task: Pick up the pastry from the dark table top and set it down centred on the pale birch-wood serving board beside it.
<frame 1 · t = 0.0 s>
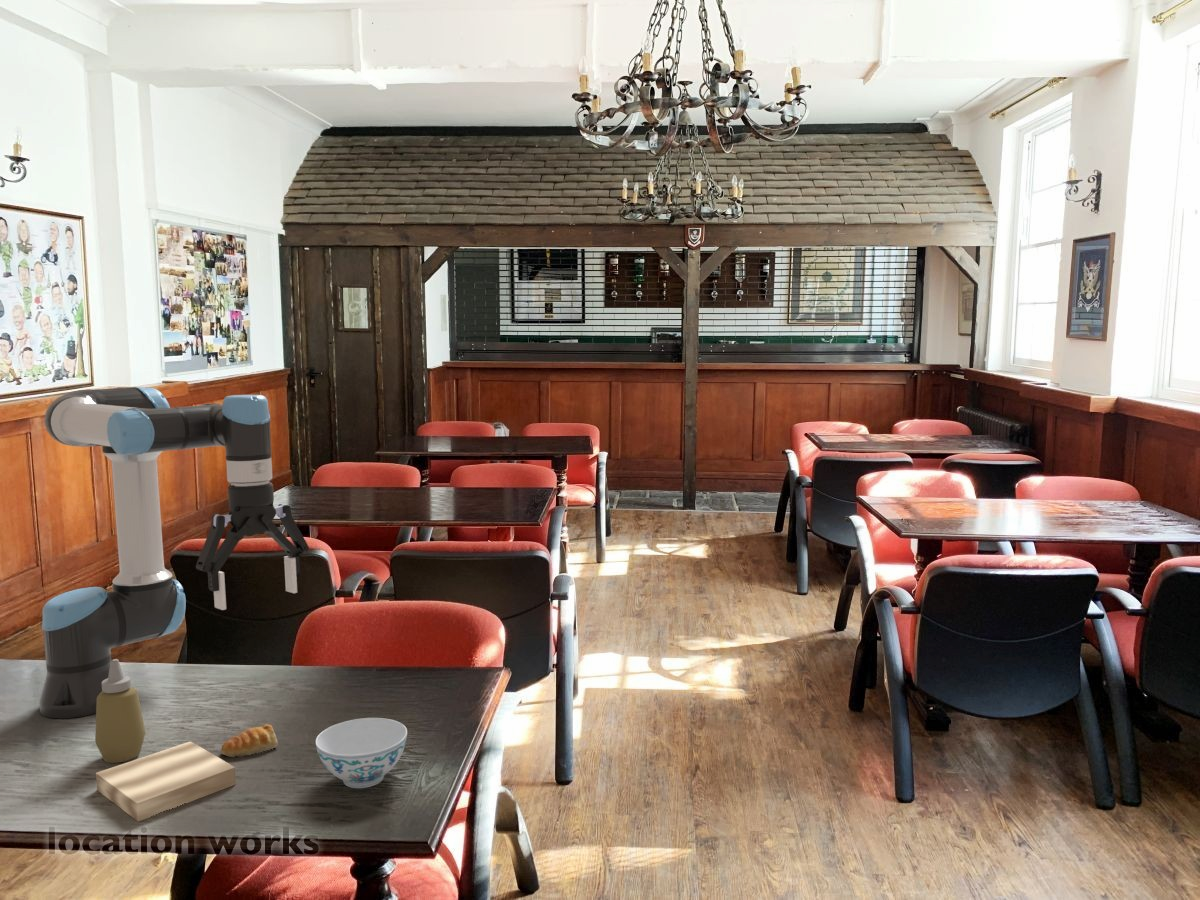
hand: (257, 600, 167), 28 cm above the table, tool pointing down, fingers open, 13 cm apart
serving board: (166, 787, 157), on the table
squeeze bottle: (122, 757, 168), on the table
chinaware: (363, 780, 159), on the table
pastry: (253, 750, 171), on the table
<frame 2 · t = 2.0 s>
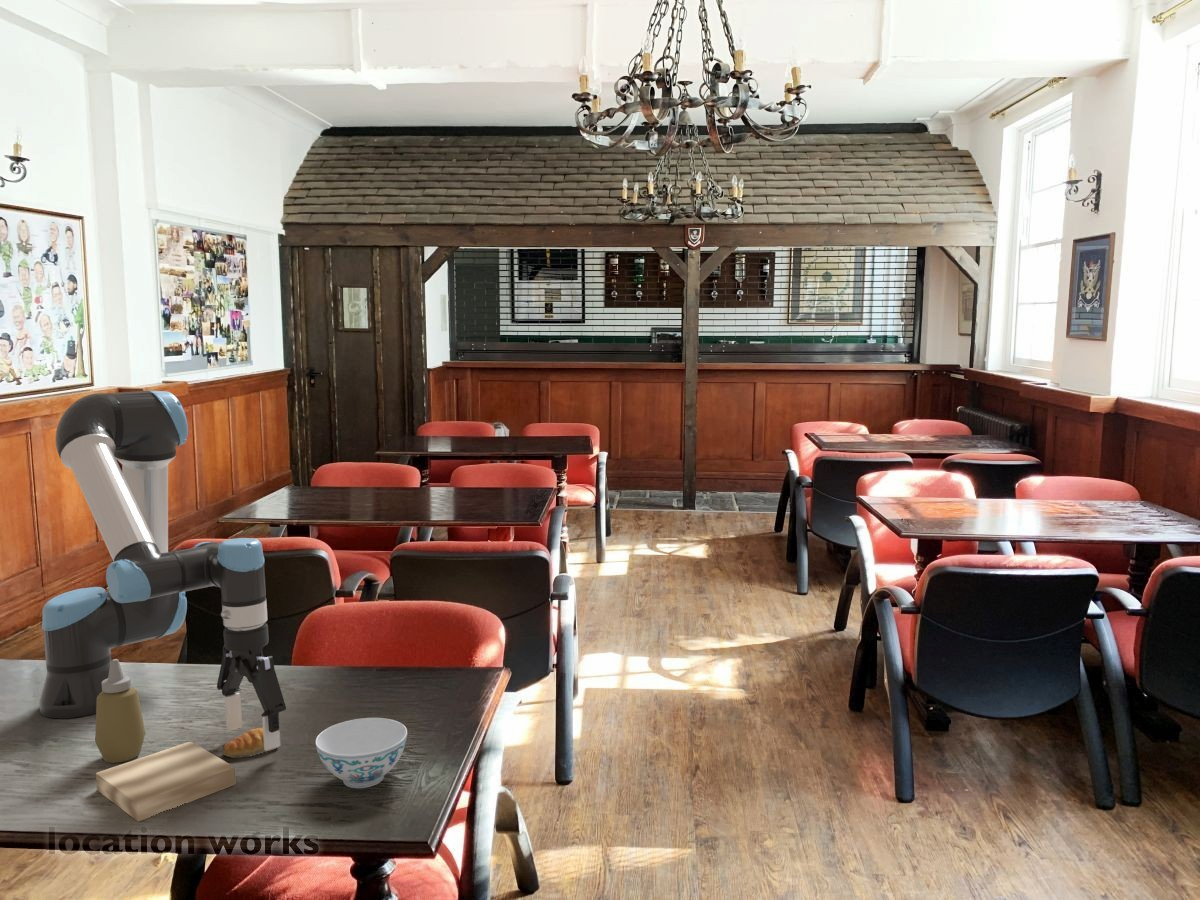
hand: (253, 738, 171), 2 cm above the table, tool pointing down, fingers open, 13 cm apart
nothing on the table moved.
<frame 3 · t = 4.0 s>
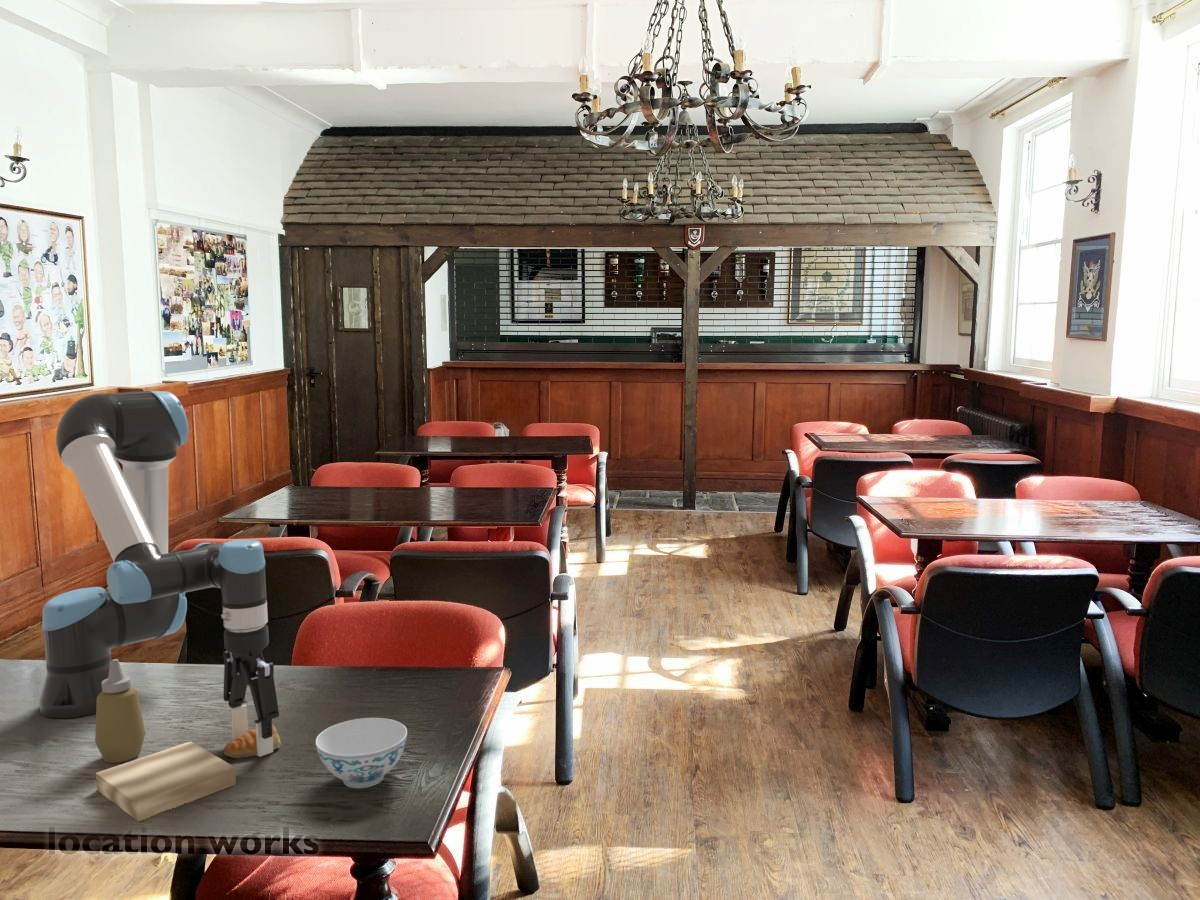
hand: (253, 746, 171), 0 cm above the table, tool pointing down, fingers open, 8 cm apart
pastry: (255, 751, 171), on the table, touching gripper
everything else where it was.
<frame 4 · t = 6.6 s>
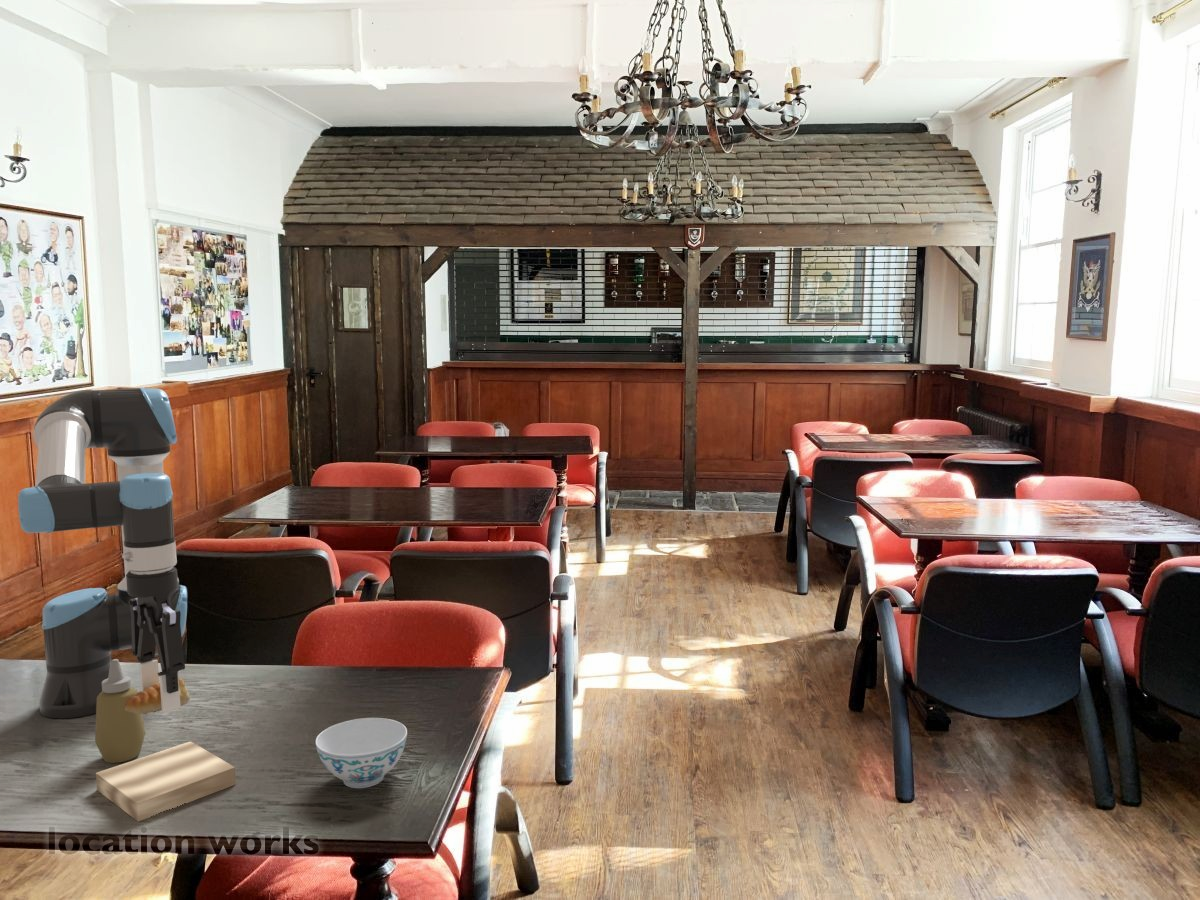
hand: (161, 704, 155), 14 cm above the table, tool pointing down, fingers closed on pastry, 7 cm apart
pastry: (161, 707, 155), point 14 cm above the table, touching gripper
everything else where it was.
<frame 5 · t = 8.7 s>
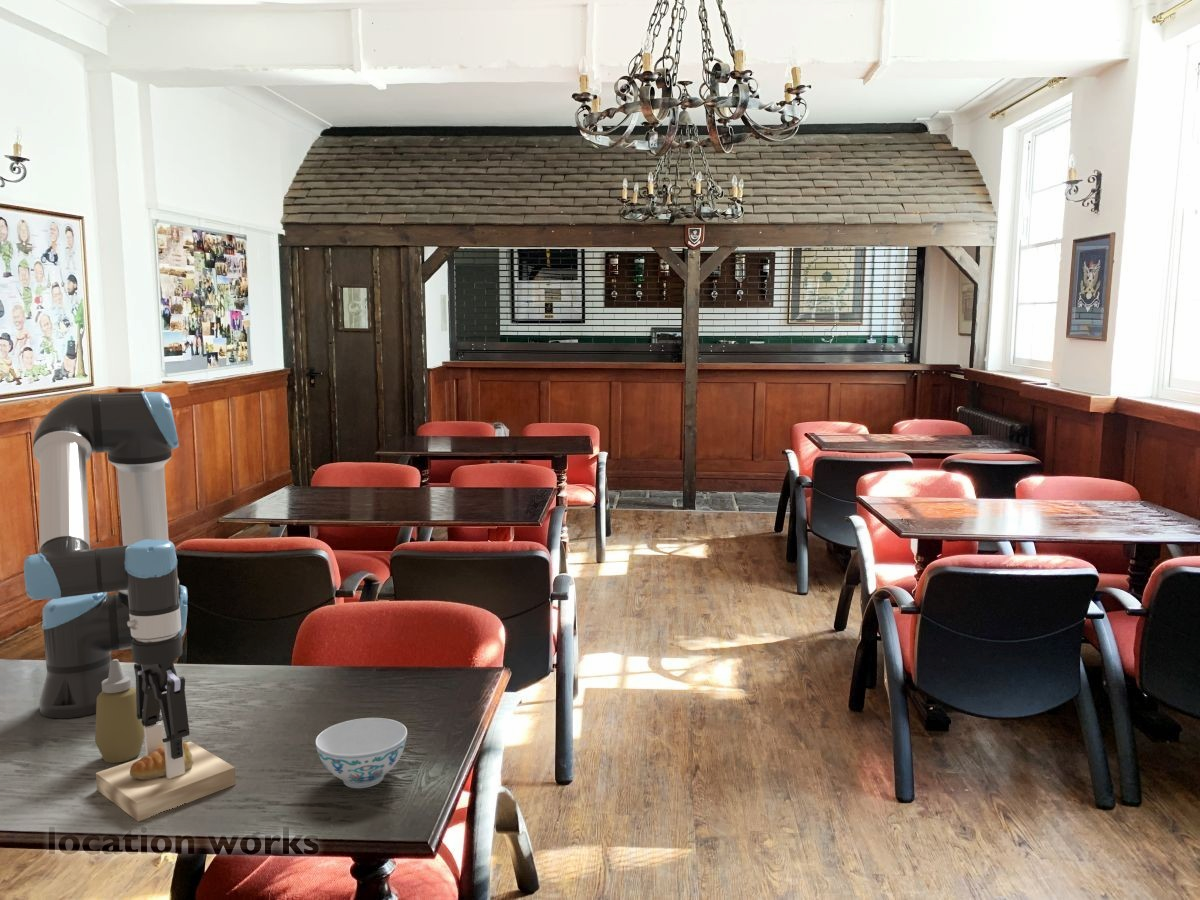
hand: (165, 768, 156), 3 cm above the table, tool pointing down, fingers closed on pastry, serving board, 7 cm apart
pastry: (166, 771, 156), point 3 cm above the table, touching gripper
everything else where it was.
when the fingers open (3 cm above the table, at t = 9.3 s): pastry stays where it is, resting on serving board.
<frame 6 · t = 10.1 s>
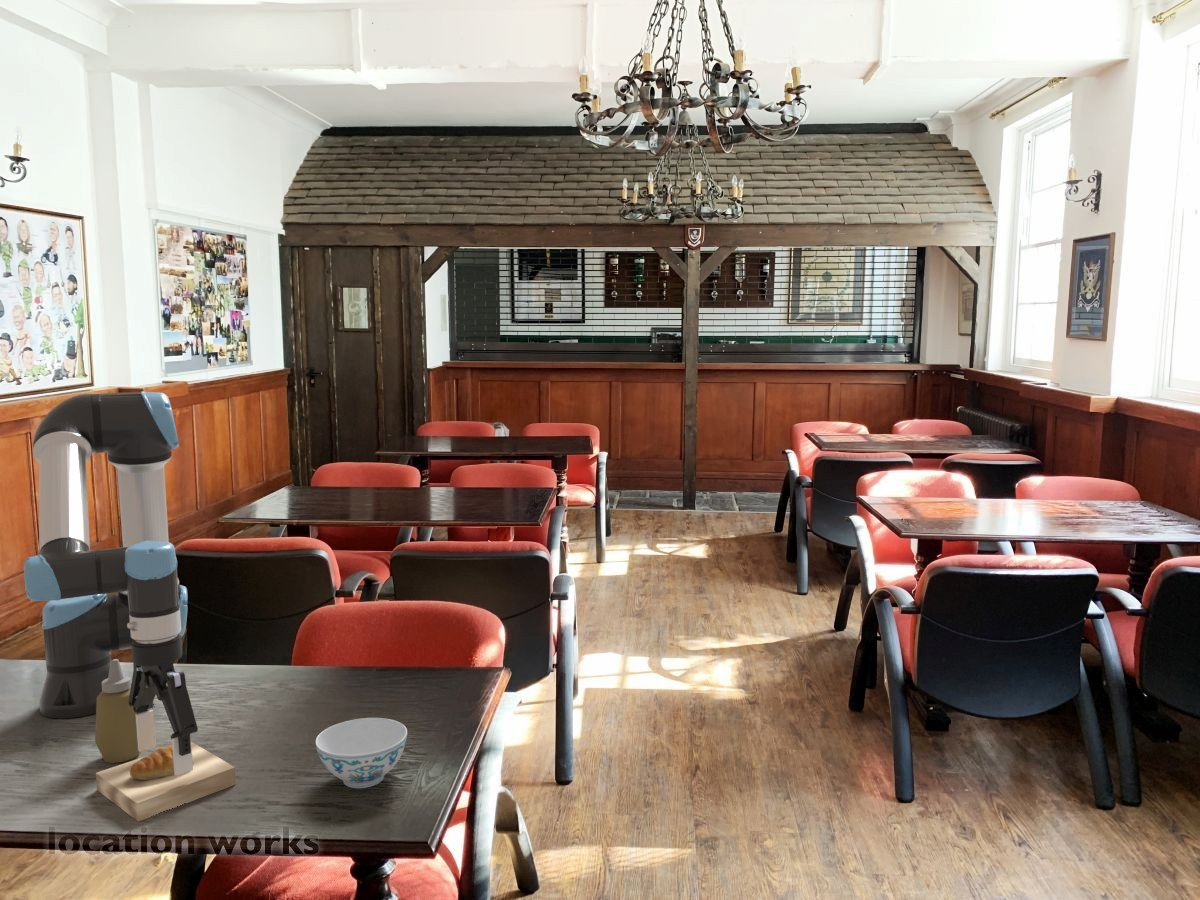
hand: (165, 760, 156), 5 cm above the table, tool pointing down, fingers open, 13 cm apart
pastry: (166, 771, 156), point 3 cm above the table, touching serving board
everything else where it was.
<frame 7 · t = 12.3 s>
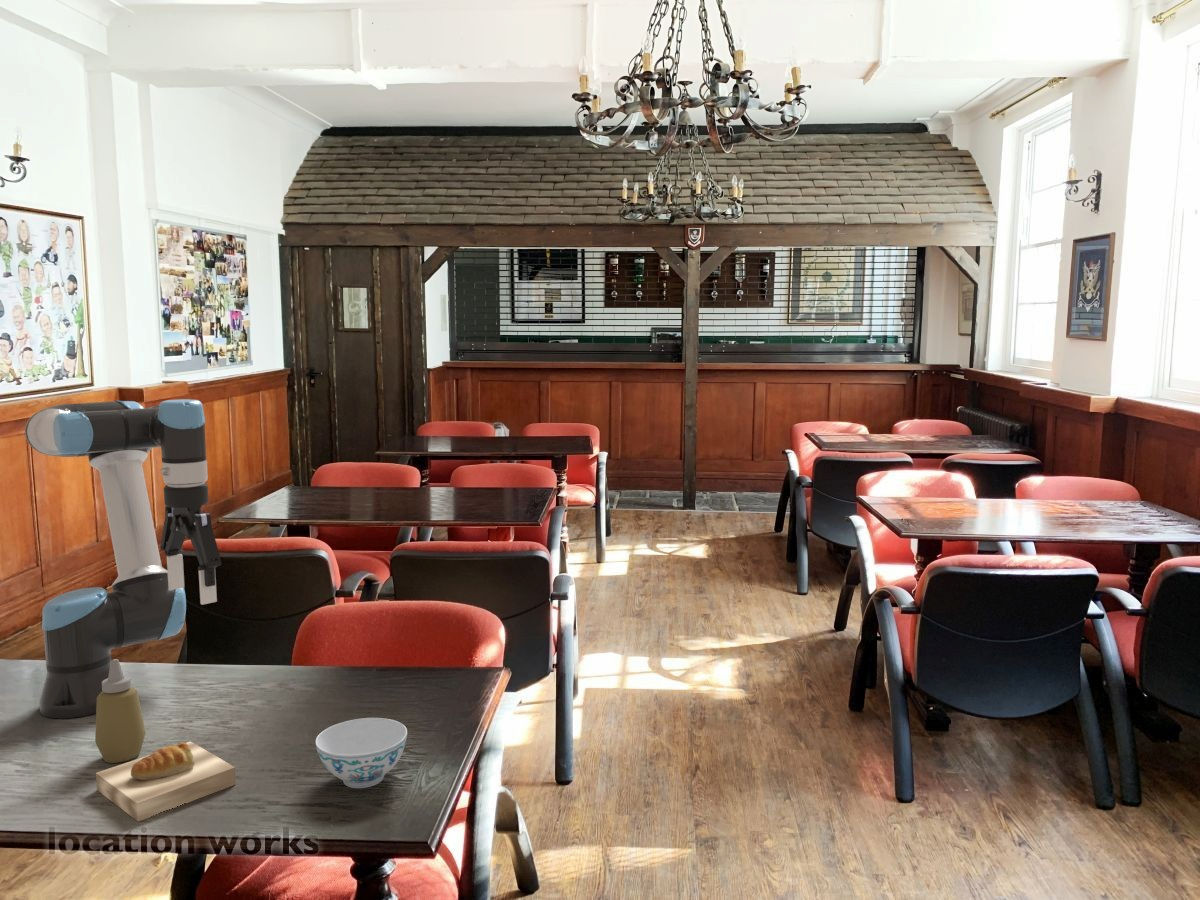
hand: (192, 595, 175), 27 cm above the table, tool pointing down, fingers open, 13 cm apart
nothing on the table moved.
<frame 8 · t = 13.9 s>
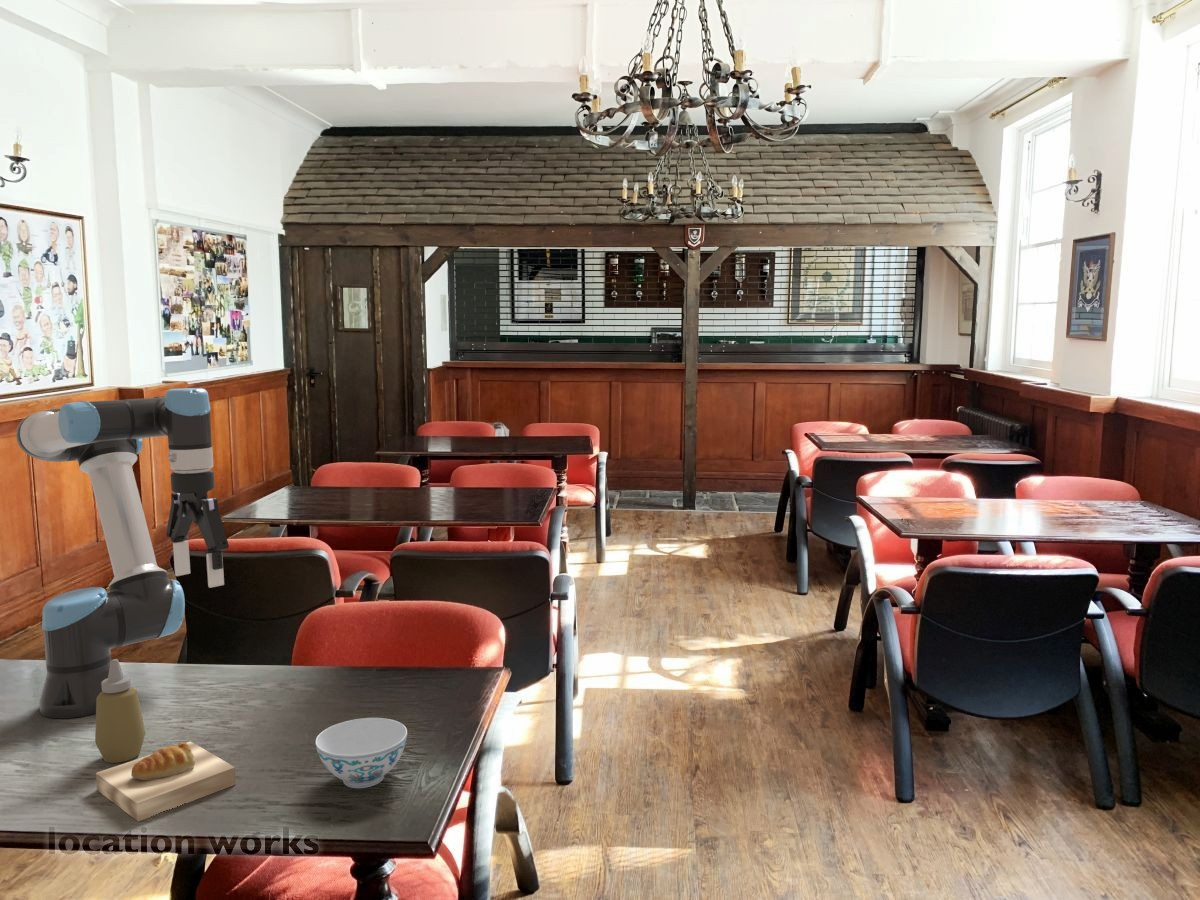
hand: (199, 580, 179), 29 cm above the table, tool pointing down, fingers open, 13 cm apart
nothing on the table moved.
at the end: pastry inside the target area on the serving board (0.5 cm from its centre), point 2.8 cm above the serving board's base; the gripper is holding nothing; pastry tilted 0° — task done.
